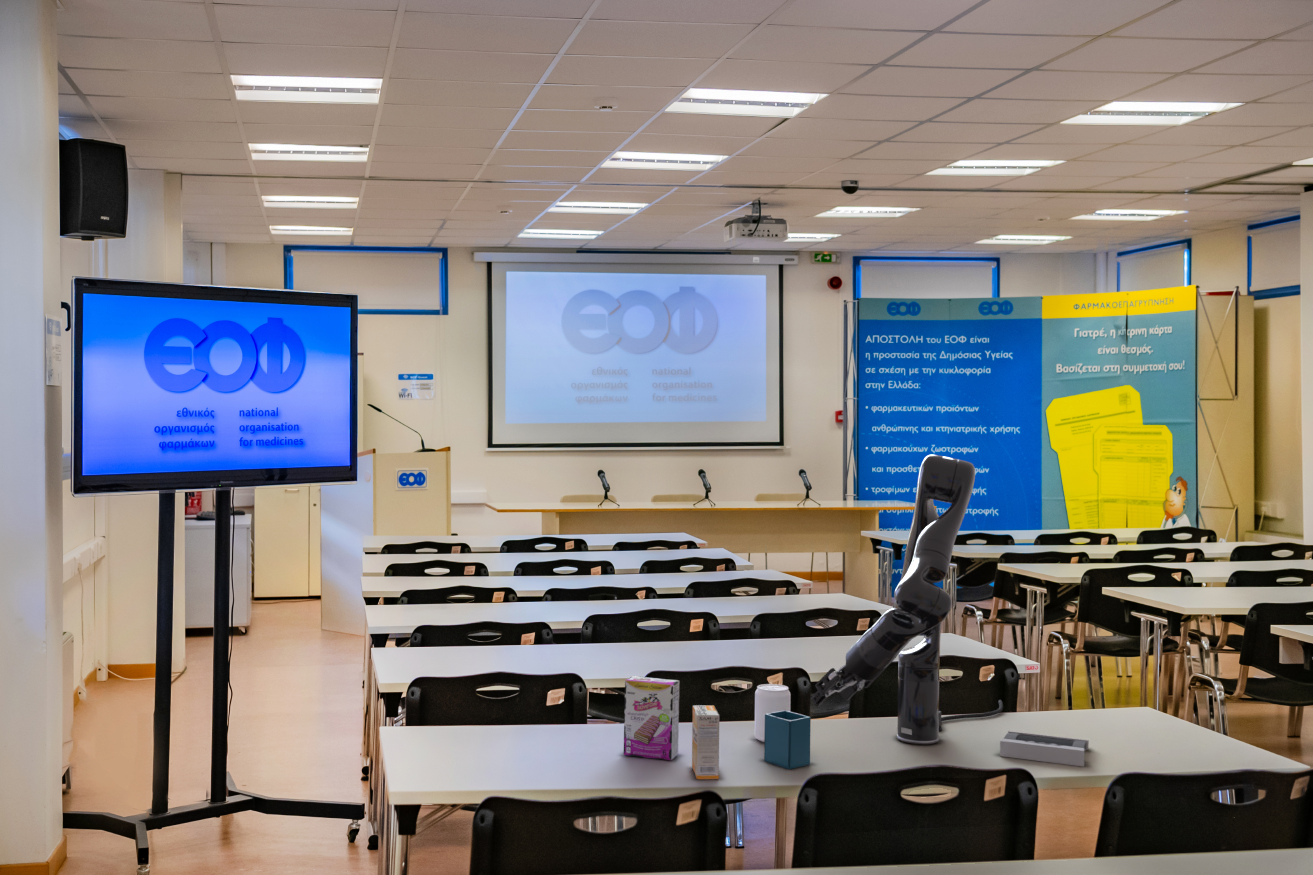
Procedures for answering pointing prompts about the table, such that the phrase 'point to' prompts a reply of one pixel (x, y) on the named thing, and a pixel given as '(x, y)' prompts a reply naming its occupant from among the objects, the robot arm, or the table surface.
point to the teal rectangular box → (787, 739)
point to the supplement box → (705, 742)
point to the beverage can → (769, 705)
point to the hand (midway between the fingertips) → (829, 699)
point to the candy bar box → (651, 717)
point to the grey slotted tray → (1044, 748)
